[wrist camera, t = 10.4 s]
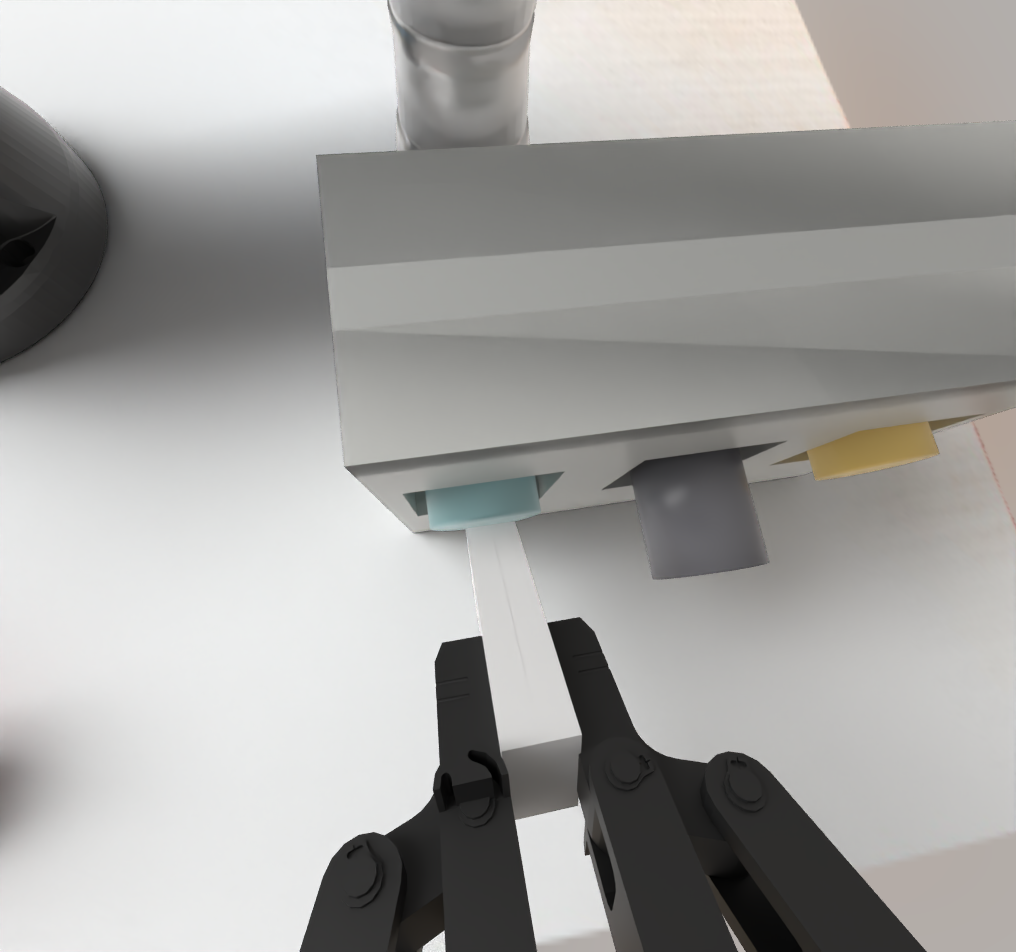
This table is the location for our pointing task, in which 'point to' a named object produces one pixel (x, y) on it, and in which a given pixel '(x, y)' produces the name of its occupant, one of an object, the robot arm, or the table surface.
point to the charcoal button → (697, 514)
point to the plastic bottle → (461, 72)
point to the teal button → (482, 504)
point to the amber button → (873, 451)
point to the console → (663, 302)
